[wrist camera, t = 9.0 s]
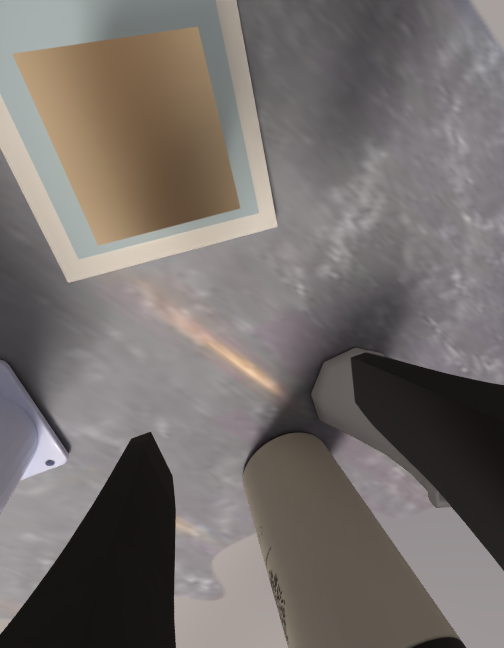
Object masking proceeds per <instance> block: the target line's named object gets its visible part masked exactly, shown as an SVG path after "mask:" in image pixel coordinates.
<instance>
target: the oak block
mask: <svg viewBox="0 0 504 648" xmlns="http://www.w3.org/2000/svg"><path fill="white" fill-rule="evenodd" d="M13 56H14V59H15V61H16V63H17V65H18V68H19V70H20V72H21V74H22V77H23V79H24V81H25V83H26V85H27V88H28V90H29V92H30V94H31V97H32V99H33V101H34V103H35V106H36V108H37V110H38V112H39V115H40V117H41V119H42V121H43V124H44V126H45V128H46V130H47V132H48V135H49V137H50V139H51V141H52V144H53V146H54V148H55V150H56V153H57V155H58V157H59V159H60V162H61V164H62V166H63V168H64V170H65V173H66V175H67V177H68V179H69V182H70V184H71V186H72V188H73V191H74V193H75V195H76V197H77V200H78V202H79V204H80V206H81V209H82V211H83V213H84V215H85V217H86V220H87V222H88V224H89V226H90V229H91V231H92V233H93V235H94V238H95V240H96V242H97V244H98V246H99V245H103V244H107V243H111V242H114V241H118V240H122V239H126V238H130V237H134V236H137V235H141V234H145V233H149V232H153V231H156V230H160V229H164V228H168V227H172V226H175V225H179V224H183V223H187V222H191V221H195V220H198V219H202V218H206V217H210V216H214V215H217V214H221V213H225V212H229V211H233V210H237V209H240V204H239V199H238V195H237V191H236V187H235V182H234V178H233V174H232V170H231V165H230V161H229V157H228V153H227V148H226V144H225V140H224V136H223V131H222V127H221V123H220V119H219V114H218V110H217V106H216V102H215V97H214V93H213V89H212V85H211V80H210V76H209V72H208V68H207V63H206V59H205V55H204V51H203V46H202V42H201V38H200V34H199V29H198V27H192V28H185V29H178V30H171V31H164V32H158V33H151V34H144V35H137V36H130V37H123V38H117V39H110V40H103V41H96V42H89V43H82V44H76V45H69V46H62V47H55V48H48V49H42V50H35V51H28V52H21V53H14V54H13Z"/></svg>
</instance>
